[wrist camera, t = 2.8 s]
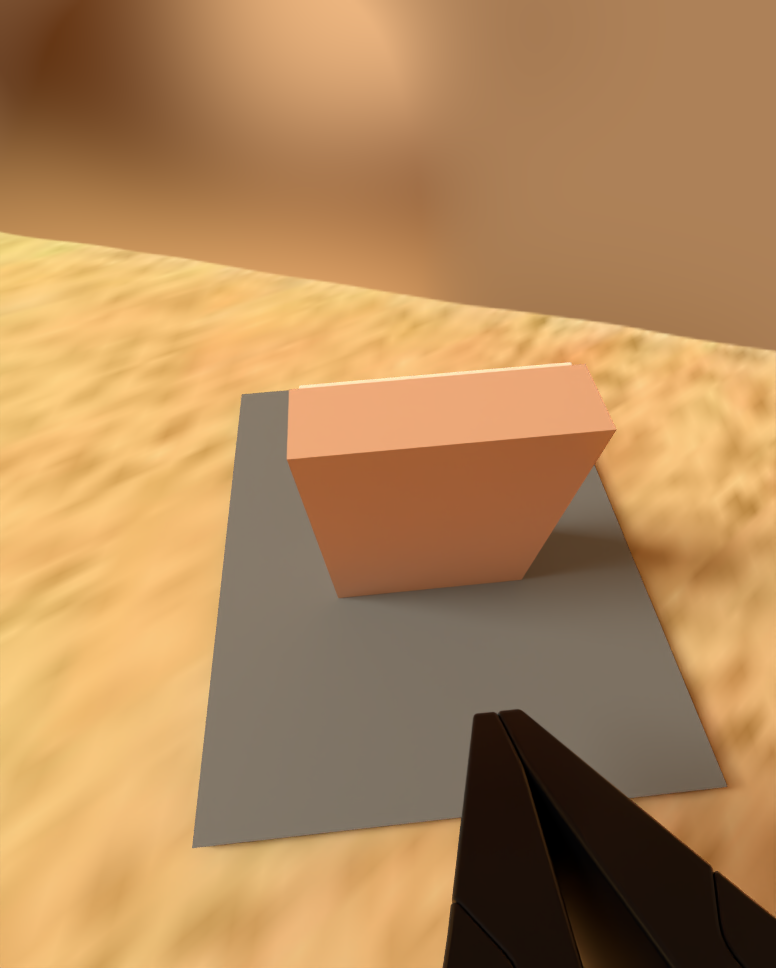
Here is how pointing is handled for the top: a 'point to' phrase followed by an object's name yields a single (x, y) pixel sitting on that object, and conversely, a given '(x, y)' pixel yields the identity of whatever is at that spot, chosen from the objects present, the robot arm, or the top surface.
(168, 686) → the top surface
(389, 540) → the tile
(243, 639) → the mat
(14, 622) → the top surface
